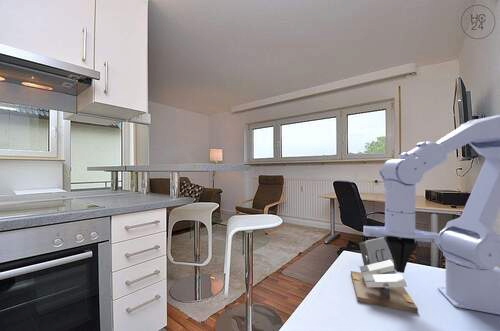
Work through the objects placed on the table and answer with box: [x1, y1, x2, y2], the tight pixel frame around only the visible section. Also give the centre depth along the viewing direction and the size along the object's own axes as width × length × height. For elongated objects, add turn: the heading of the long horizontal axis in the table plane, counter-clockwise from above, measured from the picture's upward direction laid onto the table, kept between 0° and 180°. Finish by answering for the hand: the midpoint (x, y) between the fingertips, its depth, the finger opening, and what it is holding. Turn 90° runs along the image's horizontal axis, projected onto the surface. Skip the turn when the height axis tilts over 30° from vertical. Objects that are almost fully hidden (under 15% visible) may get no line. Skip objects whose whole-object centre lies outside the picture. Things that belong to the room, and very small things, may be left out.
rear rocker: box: [359, 260, 396, 277], centre depth 56 cm, size 8×4×2 cm, turn 71°
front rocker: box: [363, 273, 408, 288], centre depth 50 cm, size 8×4×2 cm, turn 71°
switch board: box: [350, 270, 419, 314], centre depth 53 cm, size 12×13×3 cm
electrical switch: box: [358, 237, 394, 266], centre depth 66 cm, size 9×5×9 cm, turn 116°
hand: (399, 270), depth 49 cm, fingers closed
